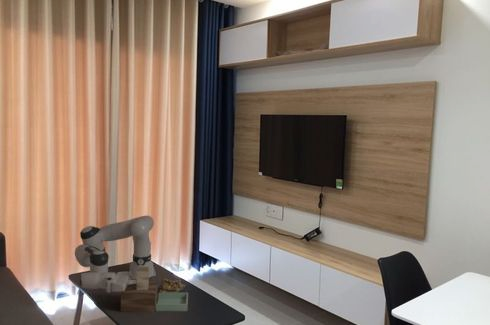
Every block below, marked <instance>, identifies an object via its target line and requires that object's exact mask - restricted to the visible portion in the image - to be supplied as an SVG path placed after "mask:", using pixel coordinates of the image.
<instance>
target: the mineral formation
mask: <svg viewBox="0 0 490 325" xmlns="http://www.w3.org/2000/svg"><path fill="white" fill-rule="evenodd" d="M159 286H160V287H161V289H158V293H180V291H181V290H183V289H184V288H185V287H186V284H182V282H181V278H180V279H174V280H171V279H167V278H162V279H161V282H160V285H159Z"/></svg>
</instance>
